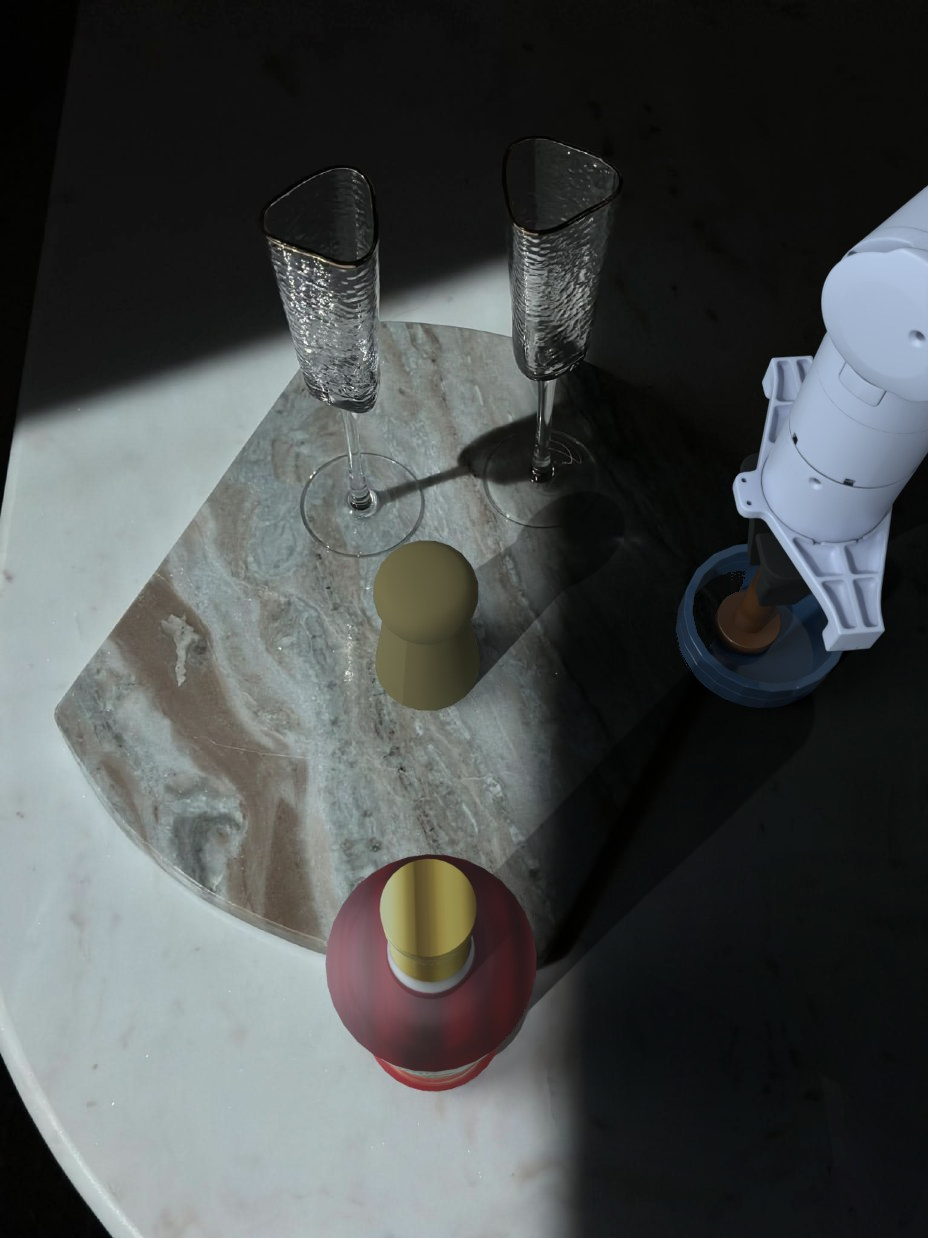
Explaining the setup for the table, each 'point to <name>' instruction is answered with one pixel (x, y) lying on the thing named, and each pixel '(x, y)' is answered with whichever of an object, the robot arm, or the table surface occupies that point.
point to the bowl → (771, 673)
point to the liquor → (431, 968)
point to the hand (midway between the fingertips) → (772, 578)
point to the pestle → (747, 621)
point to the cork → (426, 625)
